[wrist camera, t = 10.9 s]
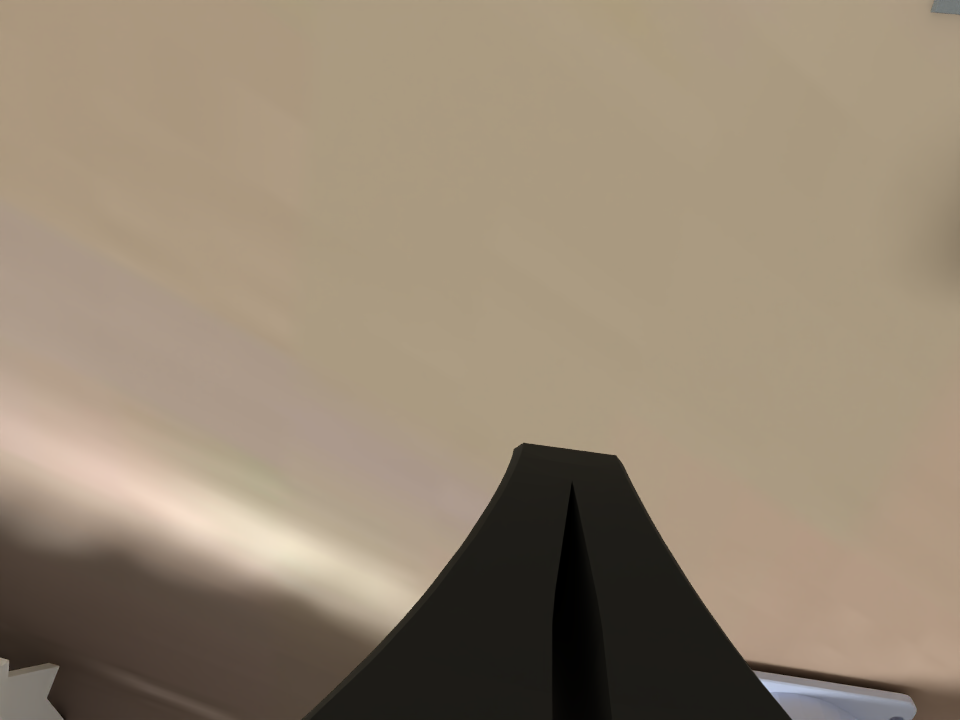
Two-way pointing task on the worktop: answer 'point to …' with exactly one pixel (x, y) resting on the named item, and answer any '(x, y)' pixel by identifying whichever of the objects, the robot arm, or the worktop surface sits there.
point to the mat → (946, 6)
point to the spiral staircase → (27, 692)
